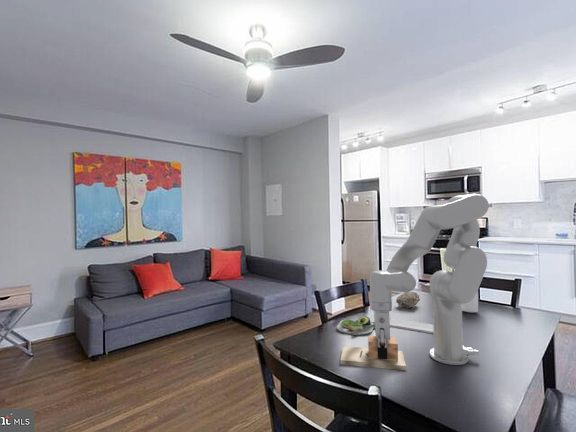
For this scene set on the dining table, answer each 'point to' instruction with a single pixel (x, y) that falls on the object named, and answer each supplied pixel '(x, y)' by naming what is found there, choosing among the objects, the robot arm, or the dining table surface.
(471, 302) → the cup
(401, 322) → the baseboard
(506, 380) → the dining table surface
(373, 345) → the block
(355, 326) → the salad plate
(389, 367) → the plywood board
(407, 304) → the pumice stone
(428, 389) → the dining table surface
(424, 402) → the dining table surface
